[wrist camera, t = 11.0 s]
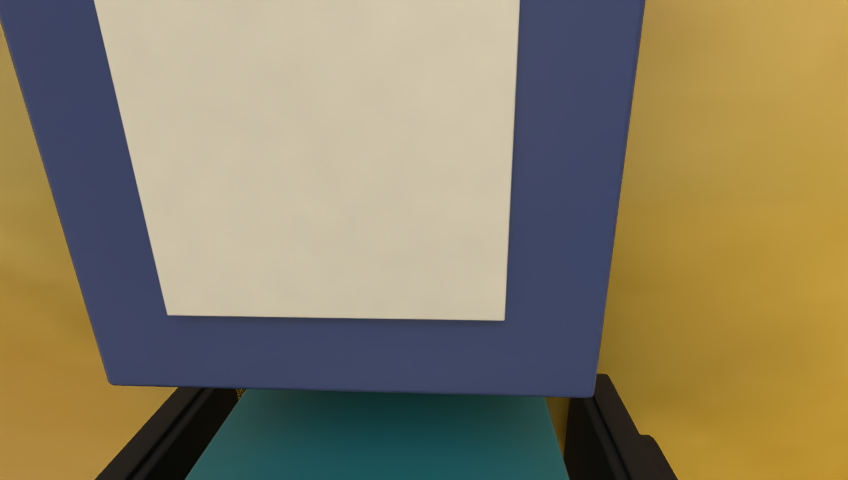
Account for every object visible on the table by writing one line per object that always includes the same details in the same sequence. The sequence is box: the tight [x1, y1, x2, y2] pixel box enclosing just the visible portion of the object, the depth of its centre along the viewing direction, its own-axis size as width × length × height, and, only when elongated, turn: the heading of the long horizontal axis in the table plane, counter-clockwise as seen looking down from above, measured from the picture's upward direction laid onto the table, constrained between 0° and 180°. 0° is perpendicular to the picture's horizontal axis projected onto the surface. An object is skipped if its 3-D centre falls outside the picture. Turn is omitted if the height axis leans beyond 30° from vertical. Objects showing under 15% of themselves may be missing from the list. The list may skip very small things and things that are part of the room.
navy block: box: [0, 0, 645, 398], centre depth 6 cm, size 5×5×6 cm
